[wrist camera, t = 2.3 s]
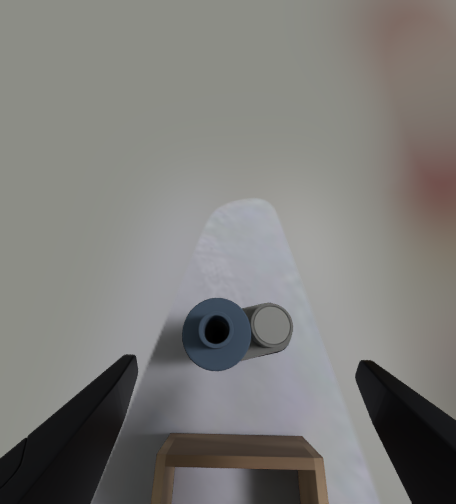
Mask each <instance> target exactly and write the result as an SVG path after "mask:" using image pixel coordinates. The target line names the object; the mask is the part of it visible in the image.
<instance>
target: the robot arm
mask: <svg viewBox="0 0 456 504" xmlns="http://www.w3.org/2000/svg"><path fill="white" fill-rule="evenodd" d="M137 375H138V366H137V360H136V356H135V355H128V354H126V355H124V356H122V357H121V358H120V359H119V360H117V361H116V362H115V363H114V364H113V365H112V366H111V367H109V368H108V369H107V370H106V371H104V372H103V373H102V374H101V375H100V376H98V377H97V378H96V379H95V380H94V381H92V382H91V383H90V384H89V385H88V386H86V387H85V388H84V389H83V390H82V391H80V392H79V393H78V394H77V395H76V396H75V397H73V398H72V399H71V400H70V401H69V402H68V403H66V404H65V405H64V406H63V407H62V408H60V409H59V410H58V411H57V412H56V413H55V414H53V415H52V416H51V417H50V418H48V419H47V420H46V421H45V422H44V423H42V424H41V425H40V426H39V427H38V428H36V429H35V430H34V431H33V432H32V433H31V434H29V435H28V437H27V438H25V439H23V440H22V441H21V442H20V443H18V444H17V445H16V446H15V447H14V448H12V449H11V450H10V451H9V452H8V453H6V454H5V455H4V456H3V457H1V458H0V504H90V503H91V501H92V498H93V496H94V493H95V491H96V488H97V486H98V484H99V481H100V479H101V476H102V474H103V471H104V469H105V466H106V464H107V461H108V459H109V456H110V454H111V451H112V449H113V446H114V444H115V442H116V439H117V437H118V434H119V432H120V429H121V427H122V424H123V421H124V419H125V416H126V413H127V409H128V406H129V403H130V399H131V396H132V393H133V389H134V386H135V382H136V379H137ZM355 378H356V382H357V385H358V387H359V390H360V393H361V395H362V398H363V400H364V403H365V405H366V408H367V410H368V413H369V416H370V418H371V420H372V423H373V425H374V427H375V429H376V431H377V433H378V436H379V437H380V440H381V441H382V443H383V446H384V448H385V450H386V452H387V454H388V456H389V458H390V460H391V462H392V464H393V466H394V468H395V470H396V472H397V474H398V476H399V478H400V480H401V482H402V484H403V486H404V488H405V490H406V492H407V494H408V496H409V498H410V500H411V502H412V504H456V420H455V419H453V418H452V417H450V416H449V415H448V414H446V413H445V412H443V411H442V410H441V409H439V408H438V407H436V406H435V405H434V404H432V403H431V402H429V401H428V400H427V399H425V398H424V397H422V396H421V395H420V394H418V393H417V392H415V391H414V390H413V389H411V388H410V387H408V386H407V385H405V384H404V383H403V382H401V381H400V380H398V379H397V378H396V377H394V376H393V375H391V374H390V373H389V372H387V371H386V370H384V369H383V368H382V367H380V366H379V365H377V364H376V363H375V362H373V361H371V360H361V361H360V362H359V365H358V368H357V371H356V375H355Z"/></svg>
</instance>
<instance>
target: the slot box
mask: <svg viewBox="0 0 456 504" xmlns="http://www.w3.org/2000/svg"><path fill="white" fill-rule="evenodd" d="M175 467H201V468H246V469H290V470H298V480H299V492H300V504H329V502H328V494H327V486H326V477H325V469H324V461H323V457H322V456H321V455H320V454H319V453H318V452H317V451H316V450H315V449H314V448H313V447H312V446H311V445H310V444H309V443H308V442H307V441H306V440H305V439H304V438H303V437H302V436H269V435H227V434H184V433H170V435H169V437H168V438H167V440H166V441H165V443H164V444H163V446H162V447H161V449H160V450H159V452H158V453H157V456H156V465H155V473H154V481H153V489H152V497H151V504H171V502H172V492H173V481H174V471H175Z"/></svg>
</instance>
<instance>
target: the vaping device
mask: <svg viewBox="0 0 456 504" xmlns="http://www.w3.org/2000/svg"><path fill="white" fill-rule="evenodd" d="M292 332H293V323H292V319H291V317H290V315H289V313H288V312H287V311H286V310H285V309H284V308H283V307H281V306H279V305H276V304H273V303H264V304H259V305H255V306H251V307H247V308H240V307H239V306H238V305H237V304H236V303H234V302H232V301H230V300H227V299H223V298H211V299H208V300H204V301H203V302H201V303H199V304H198V305H196V306H195V307H194V308H193V309H192V310H191V311H190V313H189V314H188V316H187V318H186V320H185V322H184V325H183V331H182V341H183V345H184V348H185V351H186V353H187V355H188V356H189V358H190V359H191V360H192V361H193V362H194V363H195V364H196V365H198V366H199V367H201V368H203V369H206V370H210V371H222V370H226V369H229V368H231V367H233V366H234V365H236V364H237V363H238V362H239V361H243V360H247V359H251V358H255V357H259V356H264V355H268V354H273V353H277V352H280V351H282V350H284V349H285V348H286V347H287V346H288V344H289V342H290V340H291V336H292Z"/></svg>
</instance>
